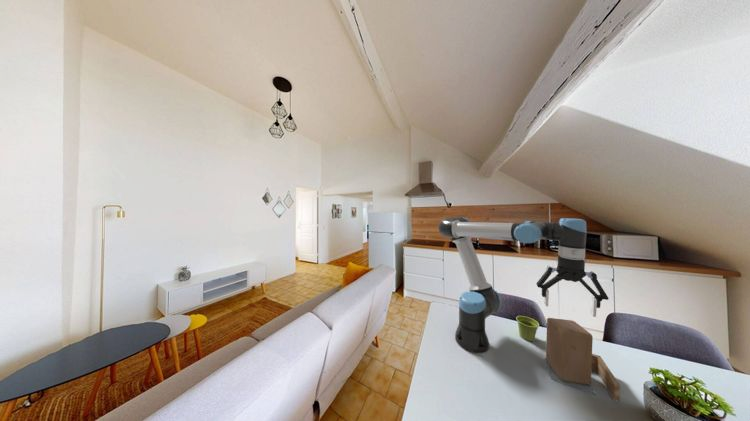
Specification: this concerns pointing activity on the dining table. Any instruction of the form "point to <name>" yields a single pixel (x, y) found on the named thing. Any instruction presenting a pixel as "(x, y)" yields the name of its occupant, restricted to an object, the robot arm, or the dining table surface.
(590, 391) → the mat
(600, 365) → the wooden angle piece
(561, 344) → the wooden block
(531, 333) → the plant pot
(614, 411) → the dining table surface
